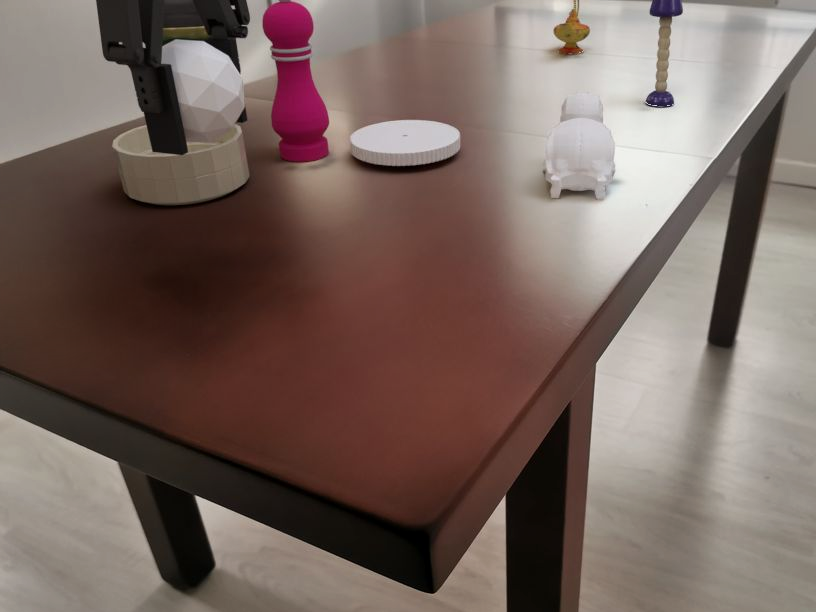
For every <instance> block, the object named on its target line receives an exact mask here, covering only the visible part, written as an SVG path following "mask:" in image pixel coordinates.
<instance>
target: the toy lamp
mask: <svg viewBox="0 0 816 612" xmlns="http://www.w3.org/2000/svg"><path fill="white" fill-rule="evenodd" d="M683 13H684V7H683V0H652V1H651V5H650V8H649V15H650V16H651V17H655V18H659V20H658V24H659V27H658V37H659V38H658V39H657V48H658V49H657V51H656V58H657V60H656V63H655V64H656V65H655V67H656V72H655V80H656V81H655V84H654V89H655V90H653V91H652V92H650V93H648V95H647V96H646V99H645V102H647V103H648V104H651V105H657V106H666V107H665V108H668V107H670V108H671V107H672V106H673V105H675V99H674V96H673V94H672V93H671V92H670V91H669V90H668V82H667V80H668V77H669V72H668V69H669V66H670V62H669V58H670V49H669V48H670V47H671V38H670V37H671V34H672V27H671V26H672V23H673V18H674V17H679V16H681V15H683ZM645 102H644V103H645ZM648 104H646V103H645V105H646V106H648V107H653V108H658V107H657V106H651V105H648ZM672 104H673V105H672ZM667 105H671V106H667Z"/></svg>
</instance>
